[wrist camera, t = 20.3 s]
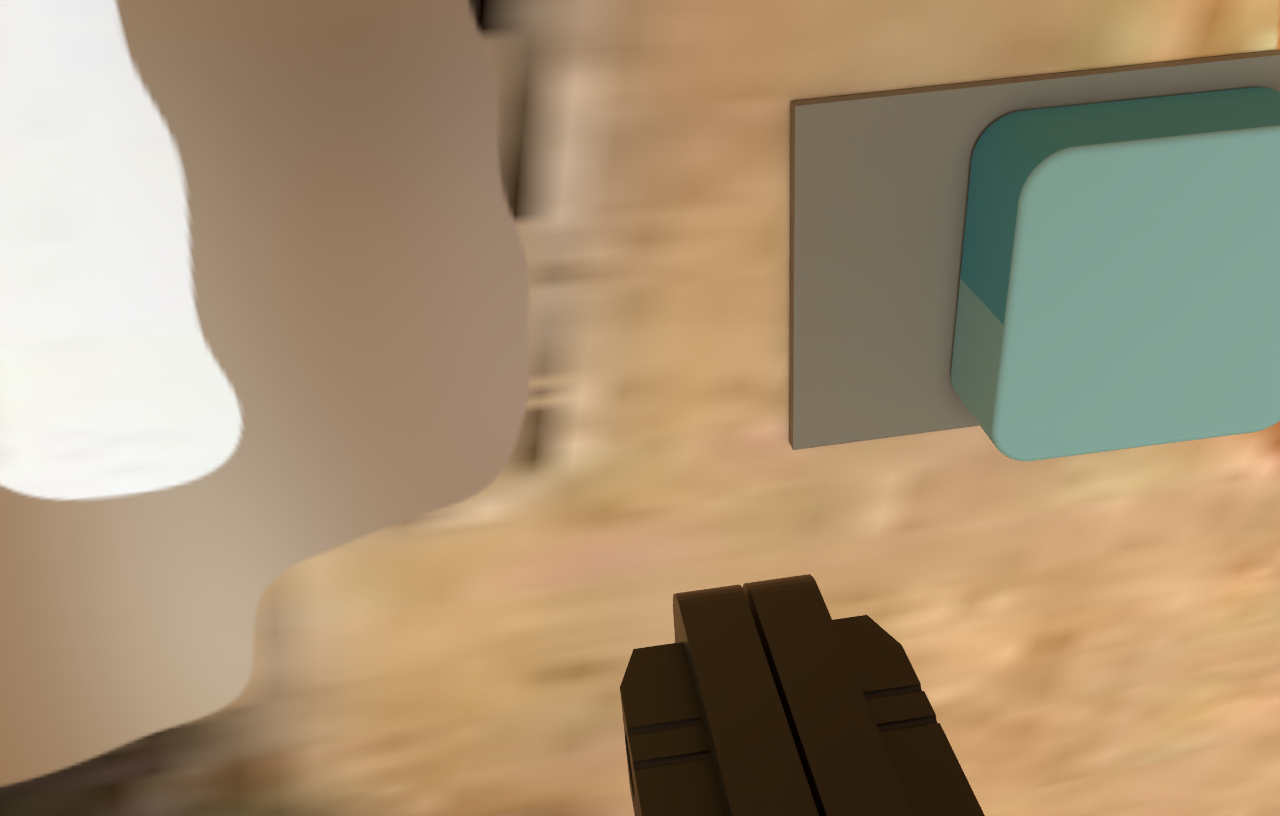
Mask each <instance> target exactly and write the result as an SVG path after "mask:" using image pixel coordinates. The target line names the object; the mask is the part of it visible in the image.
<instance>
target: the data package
mask: <svg viewBox="0 0 1280 816" xmlns="http://www.w3.org/2000/svg"><path fill="white" fill-rule="evenodd" d="M951 382H952V386H953V389H954V391H955V392H956V394H957V395H958V397H959V398H960V399H961V401H962V402H963V403H964V405H965V406H966V407H967V409H968V410H969V411H970V413H971V414H972V415H973V417H974V418H975V419H976V421H977V422H978V423H979V425H980V426H981V427H982V429H983V430H984V431H985V433H986V434H987V435H988V437H989V438H990V439H991V441H992V442H993V443H994V445H995V446H996V447H997V449H998V450H999V451H1000V452H1001V453H1003V454H1004V455H1005V456H1007V457H1009V458H1011V459H1015V460H1019V461H1035V460H1042V459H1050V458H1058V457H1066V456H1073V455H1081V454H1089V453H1097V452H1104V451H1112V450H1120V449H1128V448H1135V447H1143V446H1151V445H1159V444H1166V443H1174V442H1182V441H1190V440H1197V439H1205V438H1213V437H1221V436H1228V435H1236V434H1244V433H1252V432H1257V431H1260V430H1263V429H1266V428H1268V427H1270V426H1272V425H1274V424H1276V423H1277V422H1279V421H1280V92H1278V91H1276V90H1273V89H1270V88H1265V87H1252V88H1242V89H1232V90H1222V91H1212V92H1202V93H1192V94H1183V95H1173V96H1163V97H1153V98H1143V99H1133V100H1123V101H1113V102H1103V103H1093V104H1083V105H1073V106H1064V107H1054V108H1044V109H1034V110H1024V111H1017V112H1013V113H1010V114H1008V115H1005V116H1003V117H1002V118H1000V119H998V120H997V121H995V122H994V123H993V124H992V125H990V126H989V127H988V128H987V129H986V131H985V132H984V133H983V134H982V136H981V137H980V138H979V140H978V142H977V144H976V146H975V149H974V152H973V155H972V161H971V170H970V180H969V191H968V201H967V212H966V222H965V233H964V243H963V253H962V264H961V274H960V285H959V295H958V306H957V316H956V326H955V337H954V347H953V358H952V368H951Z"/></svg>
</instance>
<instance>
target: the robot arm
mask: <svg viewBox="0 0 1280 816" xmlns="http://www.w3.org/2000/svg"><path fill="white" fill-rule="evenodd" d="M673 613H674V629H675V643H673V644H666V645H659V646H652V647H645V648H638V649H634V650H633V652H632V655H631V658H630V661H629V664H628V666H627V669H626V672H625V675H624V678H623V681H622V683H621V686H620V692H621V702H622V712H623V722H624V732H625V742H626V751H627V761H628V771H629V781H630V789H631V795H632V801H633V807H634V813H635V816H985V815H984V813H983V811H982V809H981V807H980V805H979V803H978V801H977V799H976V797H975V795H974V793H973V791H972V789H971V787H970V785H969V782H968V780H967V778H966V776H965V774H964V772H963V770H962V768H961V766H960V764H959V762H958V760H957V758H956V756H955V754H954V752H953V750H952V747H951V745H950V743H949V741H948V739H947V737H946V735H945V733H944V731H943V729H942V727H941V725H940V723H937V721H936V715H935V712H934V710H933V708H932V706H931V704H930V702H929V700H928V698H927V696H926V694H925V692H924V691H922V690H921V685H920V682H919V680H918V677H917V675H916V673H915V671H914V669H913V667H912V665H911V663H910V661H909V659H908V657H907V655H906V653H905V651H904V649H903V647H902V645H901V644H900V643H899V642H897V641H896V640H895V639H894V638H893V637H892V636H890V635H889V634H888V633H887V632H886V631H885V630H884V629H882V628H881V627H880V626H879V625H878V624H877V623H876V622H874V621H873V620H872V619H871V618H870V617H869V616H867V615H863V616H857V617H850V618H843V619H836V620H832V619H831V616H830V614H829V612H828V609H827V607H826V605H825V602H824V600H823V597H822V595H821V593H820V590H819V588H818V586H817V583H816V581H815V580H814V578H813V577H812V576H811V575H809V574H808V575H801V576H794V577H787V578H780V579H773V580H766V581H759V582H752V583H745V584H744V585H743V588H742V587H741V585H733V586H726V587H719V588H712V589H704V590H697V591H690V592H683V593H676V594H674V595H673Z"/></svg>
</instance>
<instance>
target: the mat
mask: <svg viewBox="0 0 1280 816" xmlns="http://www.w3.org/2000/svg"><path fill="white" fill-rule="evenodd" d="M1252 87H1265V88H1270V89H1273V90H1276V91H1278V92H1280V50H1272V51H1263V52H1253V53H1244V54H1234V55H1225V56H1215V57H1206V58H1196V59H1187V60H1177V61H1168V62H1158V63H1149V64H1139V65H1130V66H1120V67H1111V68H1101V69H1092V70H1082V71H1073V72H1064V73H1054V74H1045V75H1035V76H1026V77H1016V78H1007V79H997V80H988V81H978V82H969V83H959V84H950V85H940V86H931V87H921V88H912V89H902V90H893V91H883V92H874V93H864V94H855V95H845V96H836V97H826V98H817V99H807V100H798V101H791V184H790V429H789V442H790V444H791V446H792V449H793V450H797V449H805V448H812V447H820V446H827V445H835V444H843V443H850V442H858V441H865V440H873V439H881V438H888V437H896V436H903V435H911V434H918V433H926V432H934V431H941V430H949V429H956V428H964V427H972V426H979V423H978V422H977V421H976V419H975V418H974V417H973V415H972V414H971V413H970V411H969V410H968V409H967V407H966V406H965V405H964V403H963V402H962V401H961V399H960V398H959V397H958V395H957V394H956V392H955V391H954V389H953V386H952V382H951V368H952V358H953V347H954V337H955V326H956V316H957V306H958V295H959V285H960V274H961V264H962V253H963V243H964V233H965V222H966V212H967V201H968V191H969V180H970V170H971V161H972V155H973V152H974V149H975V146H976V144H977V142H978V140H979V138H980V137H981V136H982V134H983V133H984V132H985V131H986V129H987V128H988V127H989V126H990V125H992V124H993V123H994V122H995V121H997V120H998V119H1000V118H1002V117H1003V116H1005V115H1008V114H1010V113H1013V112H1017V111H1024V110H1034V109H1044V108H1054V107H1064V106H1073V105H1083V104H1093V103H1103V102H1113V101H1123V100H1133V99H1143V98H1153V97H1163V96H1173V95H1183V94H1192V93H1202V92H1212V91H1222V90H1232V89H1242V88H1252Z"/></svg>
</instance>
